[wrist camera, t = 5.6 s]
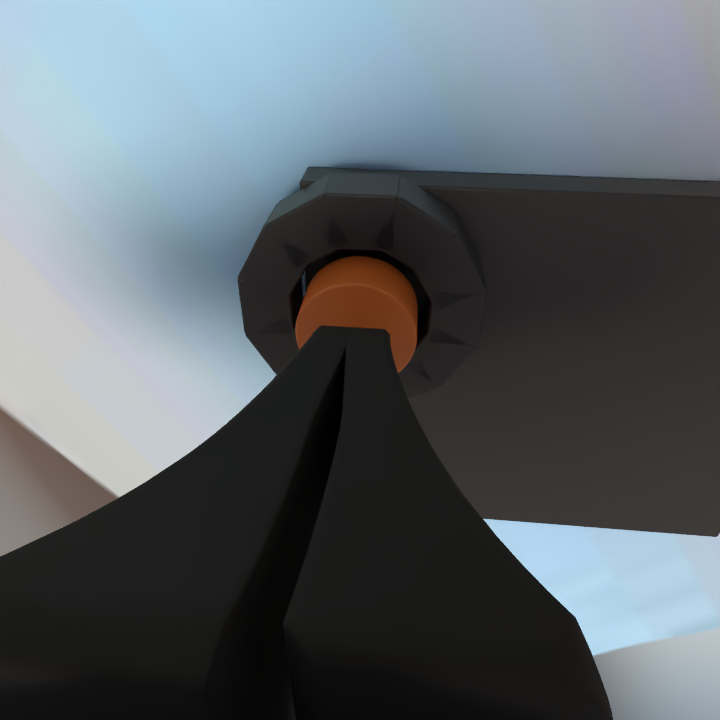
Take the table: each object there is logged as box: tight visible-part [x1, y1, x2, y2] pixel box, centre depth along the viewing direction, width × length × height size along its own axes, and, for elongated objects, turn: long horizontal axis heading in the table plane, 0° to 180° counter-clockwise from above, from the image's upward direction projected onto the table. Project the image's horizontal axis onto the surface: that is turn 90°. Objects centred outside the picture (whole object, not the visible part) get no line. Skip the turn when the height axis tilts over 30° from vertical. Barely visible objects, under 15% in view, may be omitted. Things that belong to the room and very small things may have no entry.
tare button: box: [295, 256, 417, 373], centre depth 12 cm, size 3×3×1 cm
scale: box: [238, 167, 720, 537], centre depth 15 cm, size 14×11×2 cm
